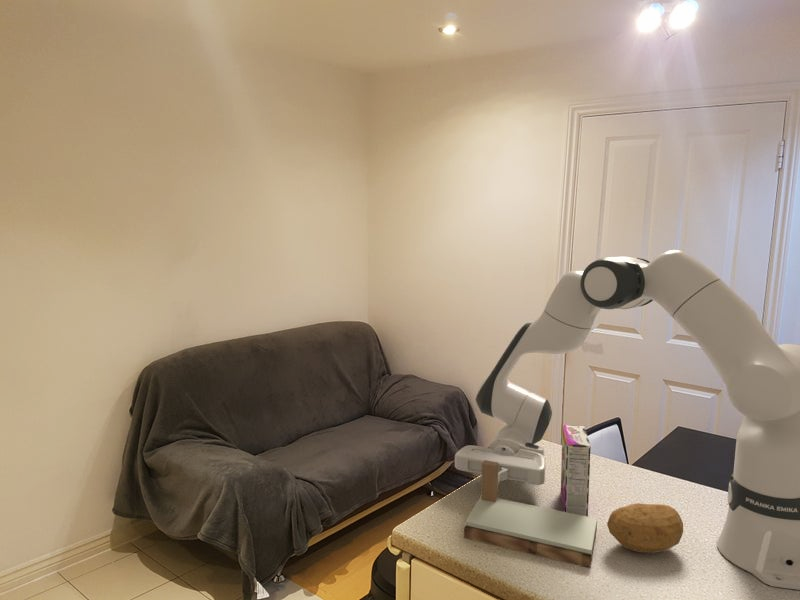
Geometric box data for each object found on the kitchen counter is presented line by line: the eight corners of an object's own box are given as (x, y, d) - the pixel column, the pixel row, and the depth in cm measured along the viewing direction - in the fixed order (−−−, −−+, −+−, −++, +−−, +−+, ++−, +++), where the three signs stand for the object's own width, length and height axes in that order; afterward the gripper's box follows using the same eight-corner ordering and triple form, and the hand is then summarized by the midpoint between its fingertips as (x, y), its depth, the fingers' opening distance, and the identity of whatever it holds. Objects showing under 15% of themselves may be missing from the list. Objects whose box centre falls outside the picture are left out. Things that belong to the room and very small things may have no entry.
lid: (596, 522, 109) (599, 480, 107) (591, 554, 98) (593, 508, 97) (481, 498, 118) (482, 459, 117) (465, 525, 108) (466, 483, 106)
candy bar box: (558, 492, 125) (561, 423, 123) (581, 494, 124) (585, 425, 122) (563, 518, 114) (566, 443, 112) (588, 521, 113) (592, 445, 111)
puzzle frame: (596, 530, 110) (597, 521, 109) (590, 568, 98) (590, 557, 98) (482, 506, 119) (482, 497, 119) (464, 537, 107) (464, 528, 107)
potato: (595, 535, 108) (597, 497, 107) (663, 531, 109) (666, 494, 108) (619, 566, 98) (622, 524, 97) (694, 561, 100) (697, 520, 99)
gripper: (464, 434, 133) (445, 457, 120) (550, 448, 125) (539, 474, 112) (464, 459, 134) (445, 484, 121) (549, 474, 125) (538, 502, 113)
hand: (491, 479), depth 117 cm, fingers closed, pressing on lid
